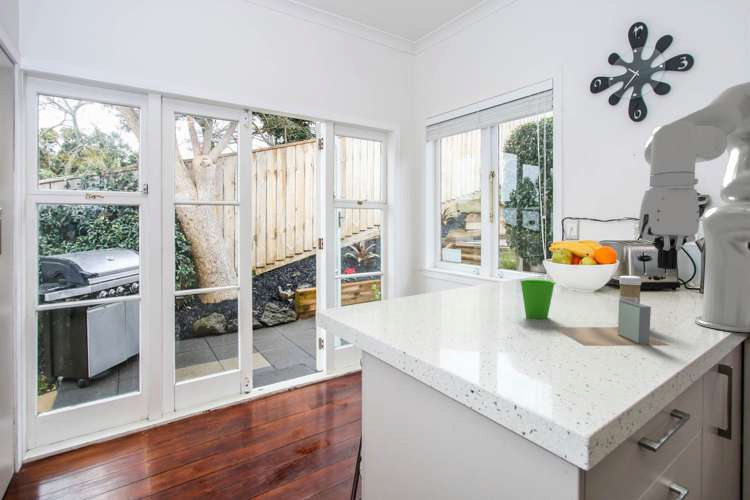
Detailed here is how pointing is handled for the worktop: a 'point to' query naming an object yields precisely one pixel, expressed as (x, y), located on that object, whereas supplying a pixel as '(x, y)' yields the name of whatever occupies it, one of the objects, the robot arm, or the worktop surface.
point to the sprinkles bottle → (630, 288)
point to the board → (600, 336)
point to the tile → (634, 321)
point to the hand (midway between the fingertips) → (666, 268)
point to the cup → (537, 297)
